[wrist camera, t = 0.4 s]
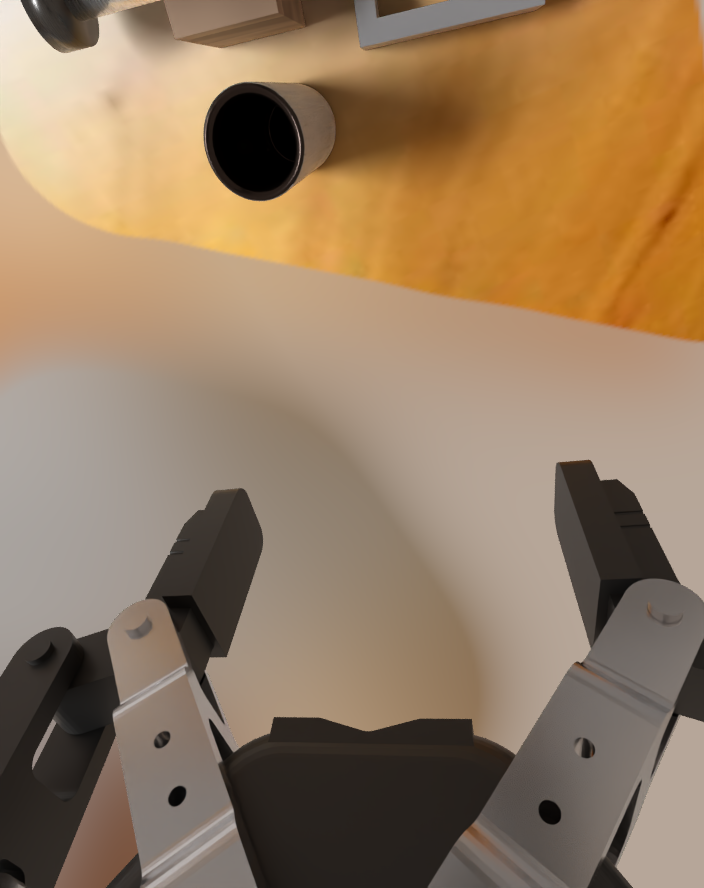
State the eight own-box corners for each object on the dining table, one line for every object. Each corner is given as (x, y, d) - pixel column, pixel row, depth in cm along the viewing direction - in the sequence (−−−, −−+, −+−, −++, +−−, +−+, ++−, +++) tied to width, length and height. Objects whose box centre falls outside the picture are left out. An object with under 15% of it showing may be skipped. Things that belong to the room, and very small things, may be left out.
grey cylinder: (320, 70, 29) (280, 63, 21) (346, 156, 32) (319, 182, 23) (249, 100, 31) (183, 106, 22) (279, 182, 33) (230, 215, 24)
